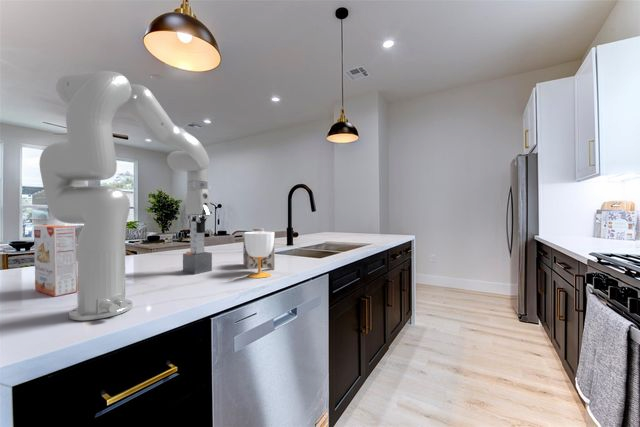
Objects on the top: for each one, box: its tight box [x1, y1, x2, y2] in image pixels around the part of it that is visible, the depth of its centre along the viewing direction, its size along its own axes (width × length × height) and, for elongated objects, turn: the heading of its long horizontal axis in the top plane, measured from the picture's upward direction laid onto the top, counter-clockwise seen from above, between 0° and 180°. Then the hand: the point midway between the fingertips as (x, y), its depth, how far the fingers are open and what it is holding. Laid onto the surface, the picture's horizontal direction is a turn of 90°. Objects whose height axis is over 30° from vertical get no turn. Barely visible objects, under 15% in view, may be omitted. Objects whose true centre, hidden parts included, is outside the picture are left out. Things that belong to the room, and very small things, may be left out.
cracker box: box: [33, 224, 78, 298], centre depth 87 cm, size 14×6×21 cm, turn 62°
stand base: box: [182, 251, 213, 275], centre depth 111 cm, size 12×12×10 cm
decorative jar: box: [242, 227, 276, 272], centre depth 123 cm, size 12×12×18 cm
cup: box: [243, 230, 275, 279], centre depth 110 cm, size 12×12×17 cm
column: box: [189, 220, 205, 255], centre depth 110 cm, size 4×4×20 cm
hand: (197, 232), depth 111 cm, fingers closed on column, 3 cm apart
